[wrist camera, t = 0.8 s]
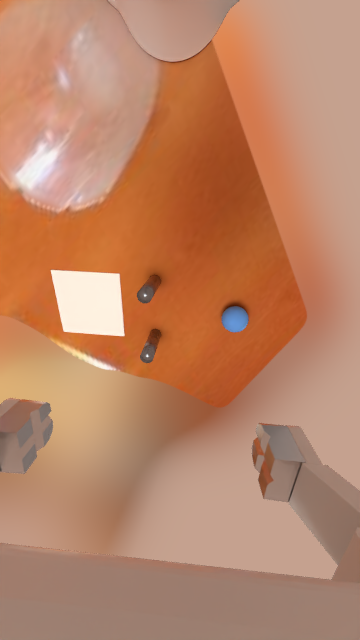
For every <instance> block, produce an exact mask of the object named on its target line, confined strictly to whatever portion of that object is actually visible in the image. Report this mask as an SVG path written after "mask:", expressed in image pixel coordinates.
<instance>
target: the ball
mask: <svg viewBox="0 0 360 640" xmlns="http://www.w3.org/2000/svg"><path fill="white" fill-rule="evenodd" d="M222 323H223V326H224V327H225V328H226V329H227V330H229V331H231V332H239V331H242V330H243V329H244V328H245V327H246V326H247V324H248V314H247V312H246V311H245V310H244V309H243V308H241V307H238V306H233V307H229V308H228V309H226V310H225V311H224V313H223V315H222Z"/></svg>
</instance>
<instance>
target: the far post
mask: <svg viewBox="0 0 360 640" xmlns="http://www.w3.org/2000/svg"><path fill="white" fill-rule="evenodd" d="M160 337H161V332H160V331H159V330H157V329H153V330H152V331H151V332H150V334H149V337H148V339H147V341H146V344H145V346H144V348H143V351H142V353H141V355H140V359H141V360H142V361H143V362H145V363H150V362H152V360H153V358H154V355H155V352H156V349H157V346H158V343H159V340H160Z"/></svg>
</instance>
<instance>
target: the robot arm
mask: <svg viewBox="0 0 360 640" xmlns="http://www.w3.org/2000/svg"><path fill="white" fill-rule="evenodd" d="M107 1H108V2H109V3H110V4H111V5H112V6H114V7H115V8H116V9H117V10H118V11H119V12H120V14H121V15H122V17H123V19H124V21H125V23H126V25H127V27H128V29H129V31H130V33H131V35H132V36H133V38H134V39H135V40H136V42H137V43H138V44H139V45H140V47H141V48H143V49H144V50H145V51H146V52H147V53H148V54H150V55H151V56H153V57H155V58H157V59H160V60H163V61H169V62H176V61H182V60H185V59H188V58H190V57H192V56H194V55H196V54H197V53H198V52H200V51H201V50H202V49H203V48H204V47H205V46H206V45H207V44H208V43H209V42H210V41H211V40H212V38H213V37H214V36H215V34H216V32H217V30H218V29H219V27H220V25H221V24H222V22H223V20H224V18H225V16H226V14H227V13H228V11H229V10H230V8H231V7H232V6H234V5H235V4H236V3H237V2H238V1H239V0H107ZM50 412H51V407H50V404H49V403H47V402H39V401H31V400H20V399H13V398H9V399H6V400H5V401H3V402H2V403H1V404H0V472H6V473H21V474H25V473H26V471H27V470H28V469H29V467H30V466H31V464H32V463H33V461H34V460H35V459H36V457H37V451H38V450H39V449H41V448H42V447H44V446H45V445H46V443H47V442H48V440H49V439H50V436H51V433H52V429H53V421H52V419H50V417H49V416H48V414H49V413H50ZM256 434H257V436H258V437H257V438H256V439H255V440H254V441H253V446H252V457H253V462H254V466H255V469H256V470H257V471H258V472H259V473H260V474H259V478H258V481H259V484H260V488H261V492H262V495H263V498H264V499H268V500H276V501H282V502H289V505H290V506H291V507H292V509H293V510H294V511H295V512H296V514H297V515H298V516H299V517H300V519H301V520H302V521H303V522H304V524H305V525H306V526H307V527H308V528H309V530H310V531H311V532H312V534H313V535H314V536H315V537H316V538H317V540H318V541H319V542H320V544H321V545H322V546H323V547H324V549H325V550H326V551H327V552H328V553H329V555H330V556H331V557H332V559H333V560H334V561H335V562H336V563H337V565H338V567H337V569H336V571H335V573H334V575H333V577H332V579H331V580H329V579H319V578H311V577H302V576H293V575H284V574H275V573H265V572H257V571H248V570H240V569H231V568H221V567H213V566H203V565H195V564H186V563H177V562H167V561H159V560H149V559H141V558H132V557H123V556H114V555H105V554H95V553H86V552H78V551H69V550H60V549H50V548H42V547H32V546H23V545H14V544H5V543H0V640H360V491H359V490H358V489H357V488H356V487H354V486H353V485H352V484H350V483H349V482H348V481H347V480H345V479H344V478H343V477H341V476H340V475H339V474H338V473H336V472H335V471H334V470H333V469H331V468H330V467H329V466H328V465H323V464H322V462H321V461H320V459H319V458H318V456H317V454H316V452H315V451H314V449H313V447H312V445H311V444H310V442H309V440H308V439H307V437H306V435H305V434H304V432H303V430H302V429H301V428H300V427H299V426H287V425H286V426H284V425H273V424H262V423H259V424H258V425H257V428H256Z"/></svg>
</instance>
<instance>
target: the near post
mask: <svg viewBox="0 0 360 640" xmlns="http://www.w3.org/2000/svg"><path fill="white" fill-rule="evenodd" d="M160 283H161V279H160V277H159V276H157V275H152V276H150V278H149V279H148V280H147V281H146V283H145V284H144V285H143V286H142V288H141V289H140V290H139V291H138V293H137V298H138V300H139V301H140V302H142V303H148V302H150V301H151V299H152V297H153V296H154V294H155V292H156V290H157V289H158V287H159V285H160Z"/></svg>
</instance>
